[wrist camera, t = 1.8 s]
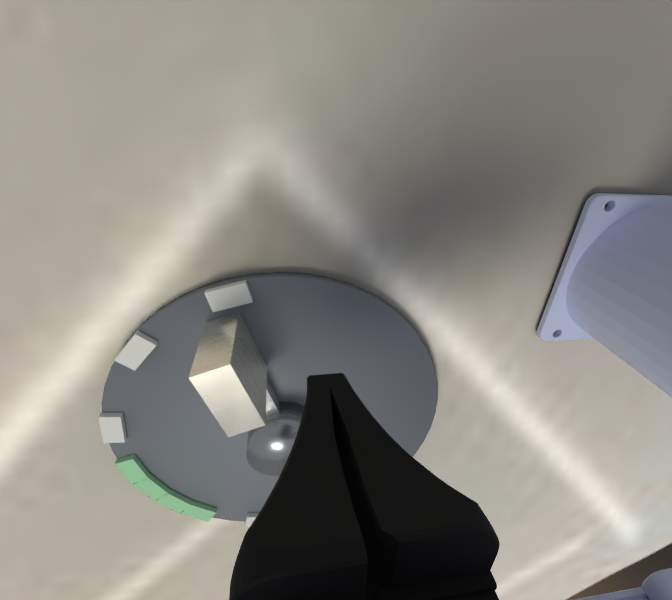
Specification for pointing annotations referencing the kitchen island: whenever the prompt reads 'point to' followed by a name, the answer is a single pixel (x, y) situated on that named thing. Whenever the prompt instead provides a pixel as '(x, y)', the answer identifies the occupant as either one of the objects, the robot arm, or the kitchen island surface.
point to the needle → (244, 393)
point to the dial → (282, 373)
